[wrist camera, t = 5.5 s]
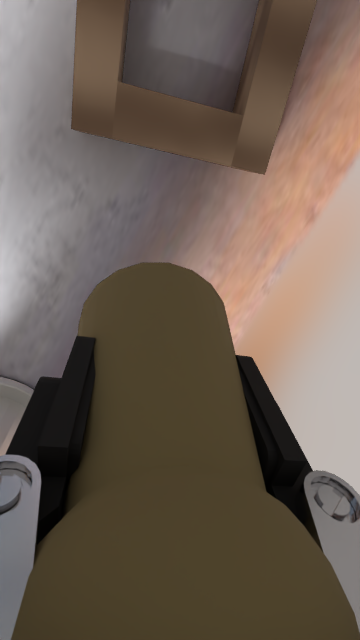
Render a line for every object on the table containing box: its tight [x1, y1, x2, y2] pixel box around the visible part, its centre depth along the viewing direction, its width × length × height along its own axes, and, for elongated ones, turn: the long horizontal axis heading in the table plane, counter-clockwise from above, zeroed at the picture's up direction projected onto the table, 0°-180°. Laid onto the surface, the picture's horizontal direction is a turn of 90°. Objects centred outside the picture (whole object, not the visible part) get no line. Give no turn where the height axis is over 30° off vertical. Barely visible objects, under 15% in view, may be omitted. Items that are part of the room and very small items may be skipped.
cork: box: [11, 263, 360, 640], centre depth 8 cm, size 6×6×11 cm
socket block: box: [71, 0, 317, 175], centre depth 19 cm, size 14×13×4 cm
